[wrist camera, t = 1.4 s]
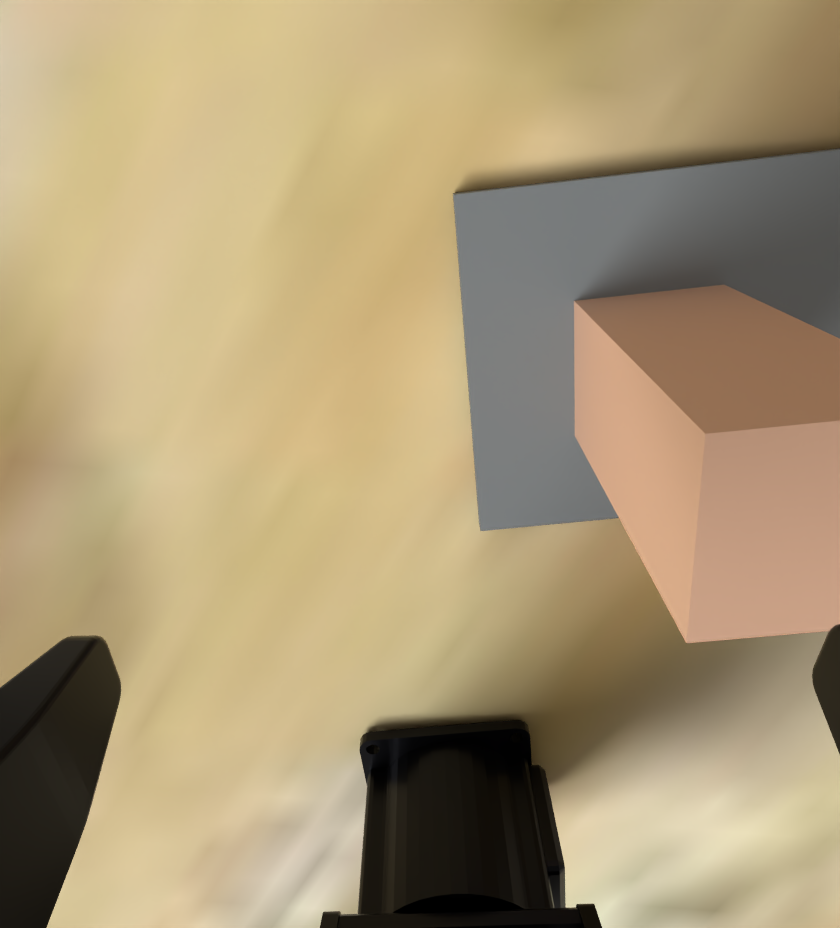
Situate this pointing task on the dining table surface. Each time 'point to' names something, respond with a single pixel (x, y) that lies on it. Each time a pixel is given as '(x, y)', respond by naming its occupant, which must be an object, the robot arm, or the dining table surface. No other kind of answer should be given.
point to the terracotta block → (717, 454)
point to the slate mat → (617, 274)
